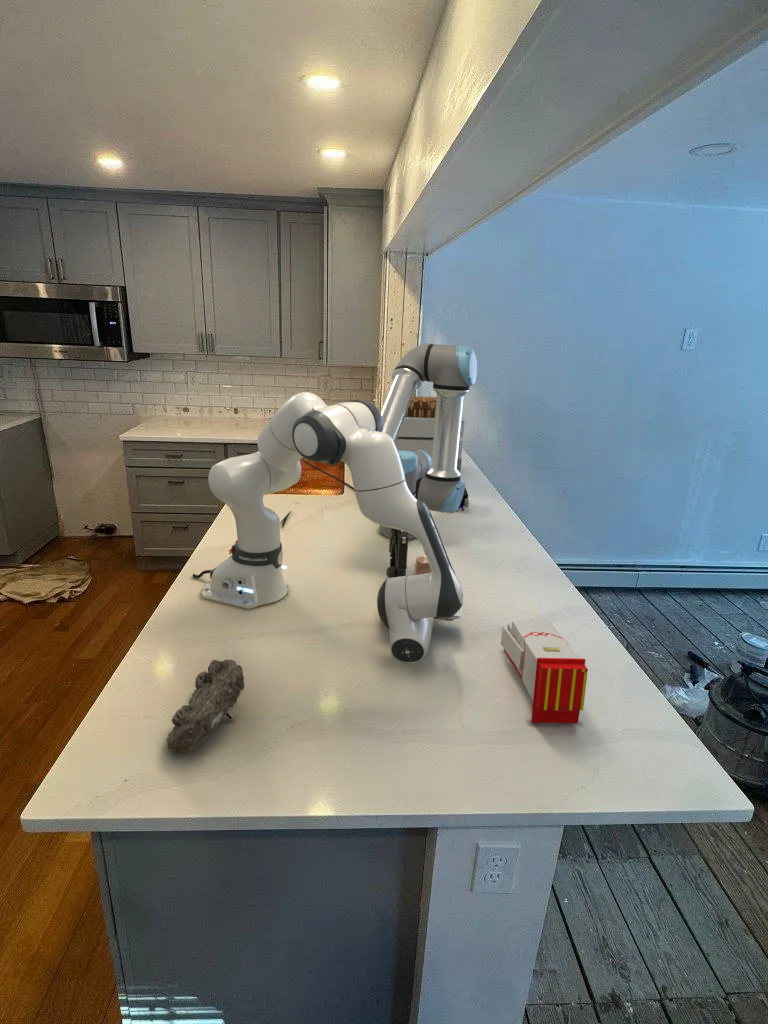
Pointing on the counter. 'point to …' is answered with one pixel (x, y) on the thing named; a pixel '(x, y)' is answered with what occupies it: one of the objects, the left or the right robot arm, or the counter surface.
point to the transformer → (422, 428)
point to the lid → (392, 572)
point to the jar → (422, 566)
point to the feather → (285, 518)
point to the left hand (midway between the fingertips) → (421, 588)
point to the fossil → (206, 705)
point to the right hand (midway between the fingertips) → (395, 583)
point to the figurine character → (464, 500)
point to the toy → (547, 670)
